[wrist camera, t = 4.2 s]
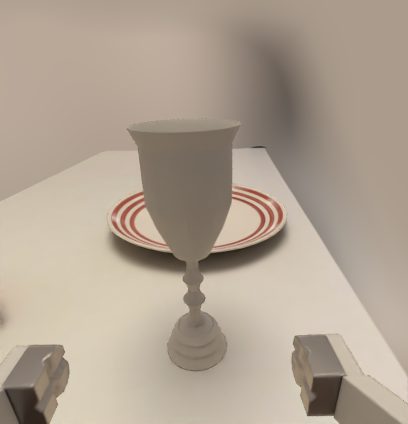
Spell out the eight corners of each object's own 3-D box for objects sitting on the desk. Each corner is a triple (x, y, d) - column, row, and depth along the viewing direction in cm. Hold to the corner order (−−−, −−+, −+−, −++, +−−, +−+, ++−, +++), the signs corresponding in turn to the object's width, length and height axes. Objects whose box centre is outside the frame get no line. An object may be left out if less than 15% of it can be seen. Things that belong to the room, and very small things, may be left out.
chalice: (252, 368, 22) (263, 126, 15) (165, 396, 20) (132, 136, 13) (219, 306, 29) (215, 116, 22) (150, 323, 27) (122, 122, 20)
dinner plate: (270, 194, 58) (271, 178, 57) (307, 273, 33) (310, 248, 32) (137, 196, 60) (135, 180, 59) (76, 272, 35) (71, 248, 34)
